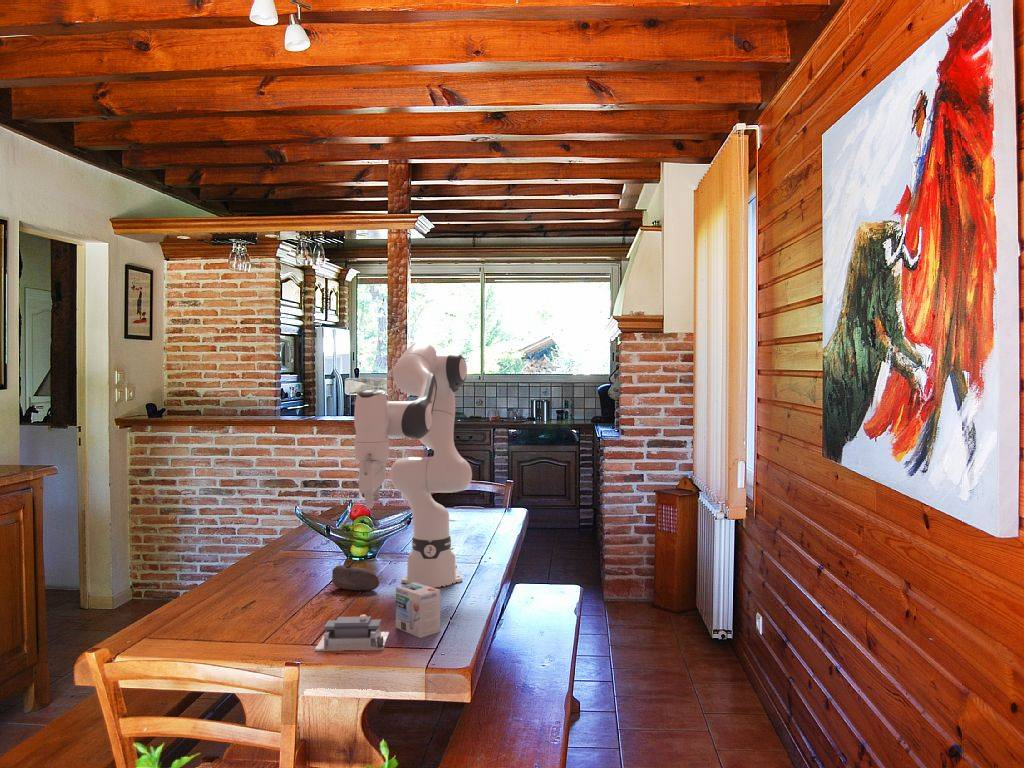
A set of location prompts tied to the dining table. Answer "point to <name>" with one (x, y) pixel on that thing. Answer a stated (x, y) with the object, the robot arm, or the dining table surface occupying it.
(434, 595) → the light bulb box
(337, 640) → the chassis
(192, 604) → the dining table surface
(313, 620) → the dining table surface
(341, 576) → the perforated stone tool
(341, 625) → the servo
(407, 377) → the robot arm
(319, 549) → the dining table surface
